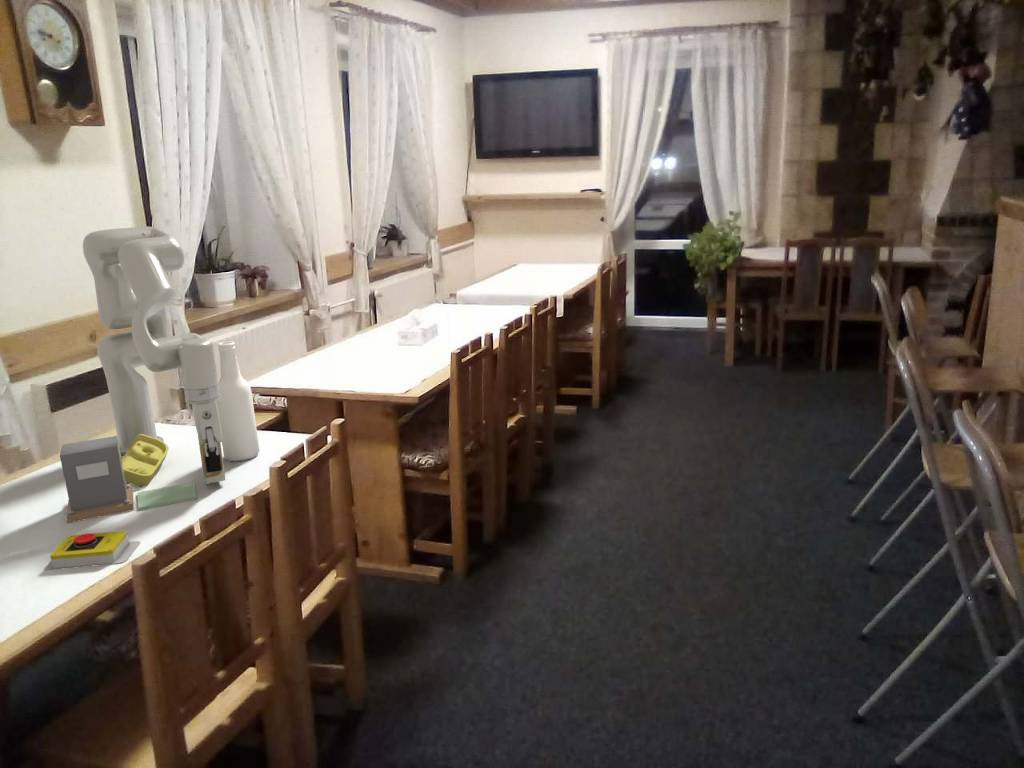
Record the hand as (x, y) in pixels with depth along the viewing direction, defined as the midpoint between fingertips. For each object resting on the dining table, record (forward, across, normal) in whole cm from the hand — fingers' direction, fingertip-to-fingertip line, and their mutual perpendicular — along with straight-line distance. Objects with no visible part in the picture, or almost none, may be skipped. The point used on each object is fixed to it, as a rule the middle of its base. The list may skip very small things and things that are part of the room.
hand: (212, 465), depth 187 cm
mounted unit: (+5, -1, +24) cm, 25 cm away
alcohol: (+5, +16, -8) cm, 19 cm away
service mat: (+5, -3, +11) cm, 12 cm away
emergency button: (+5, -27, +25) cm, 37 cm away
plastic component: (+6, +17, +16) cm, 24 cm away
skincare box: (+3, 0, 0) cm, 3 cm away
